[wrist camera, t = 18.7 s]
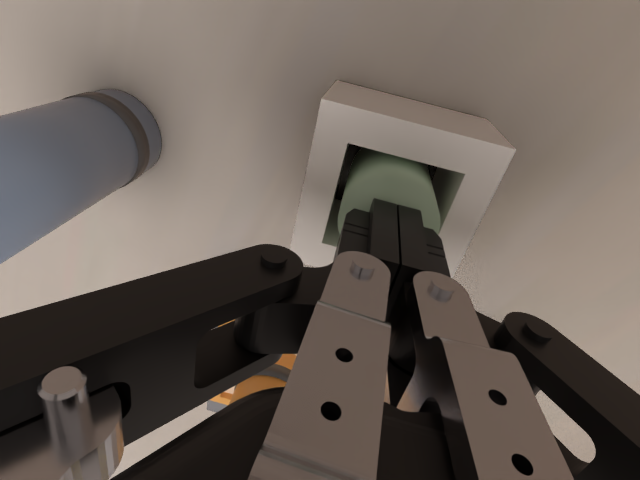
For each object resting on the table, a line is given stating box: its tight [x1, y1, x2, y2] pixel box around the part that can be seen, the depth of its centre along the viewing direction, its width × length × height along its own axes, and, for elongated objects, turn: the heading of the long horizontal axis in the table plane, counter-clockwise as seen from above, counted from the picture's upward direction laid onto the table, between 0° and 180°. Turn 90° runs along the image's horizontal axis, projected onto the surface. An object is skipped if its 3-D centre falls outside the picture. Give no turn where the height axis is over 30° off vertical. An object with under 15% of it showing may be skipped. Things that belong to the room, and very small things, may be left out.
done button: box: [338, 147, 440, 235], centre depth 14 cm, size 3×3×4 cm
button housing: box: [290, 80, 516, 278], centre depth 15 cm, size 6×6×4 cm
